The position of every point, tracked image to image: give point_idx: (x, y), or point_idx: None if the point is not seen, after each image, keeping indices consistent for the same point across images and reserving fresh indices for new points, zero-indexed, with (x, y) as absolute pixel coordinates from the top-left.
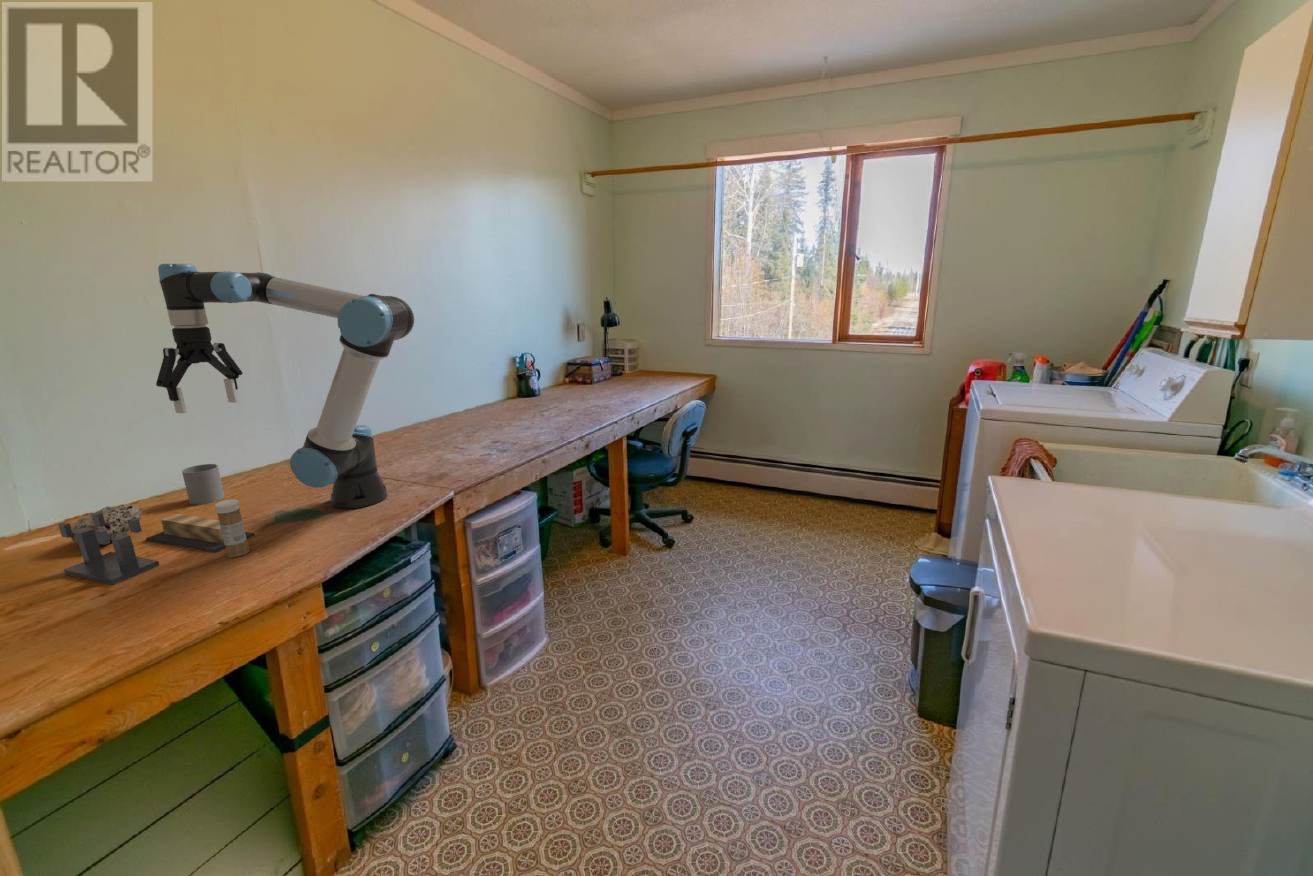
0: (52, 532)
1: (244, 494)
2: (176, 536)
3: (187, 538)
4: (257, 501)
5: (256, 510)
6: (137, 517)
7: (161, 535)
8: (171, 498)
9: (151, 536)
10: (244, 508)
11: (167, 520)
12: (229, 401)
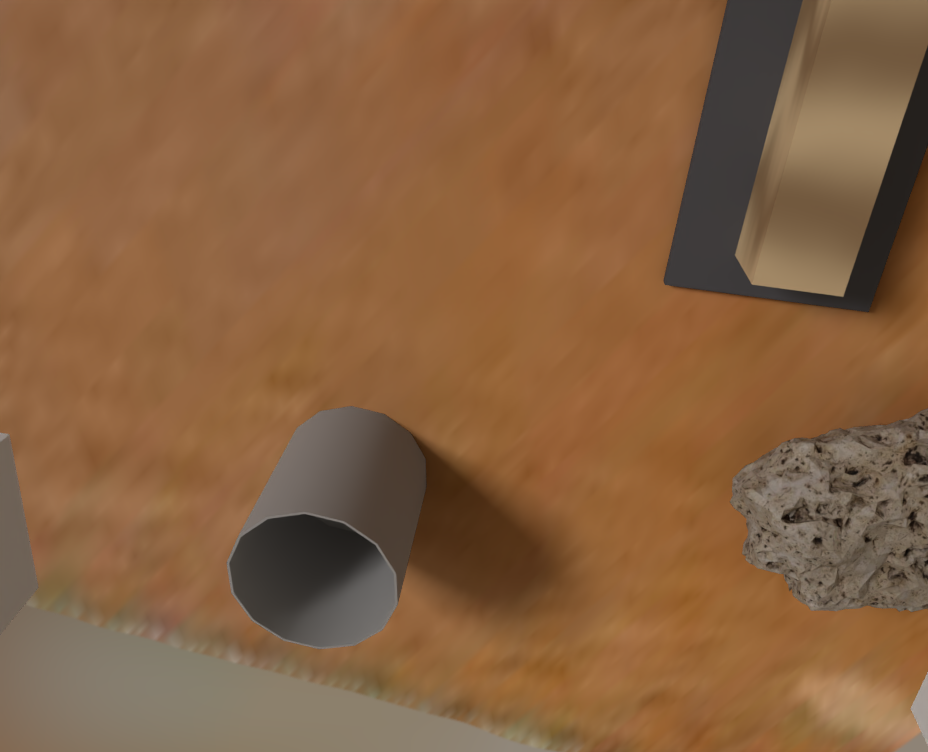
0: (777, 726)
1: (249, 349)
2: None
3: None
4: (311, 188)
5: (428, 69)
6: (808, 443)
7: None
8: None
9: (850, 302)
10: (416, 172)
11: (856, 249)
12: (25, 575)
